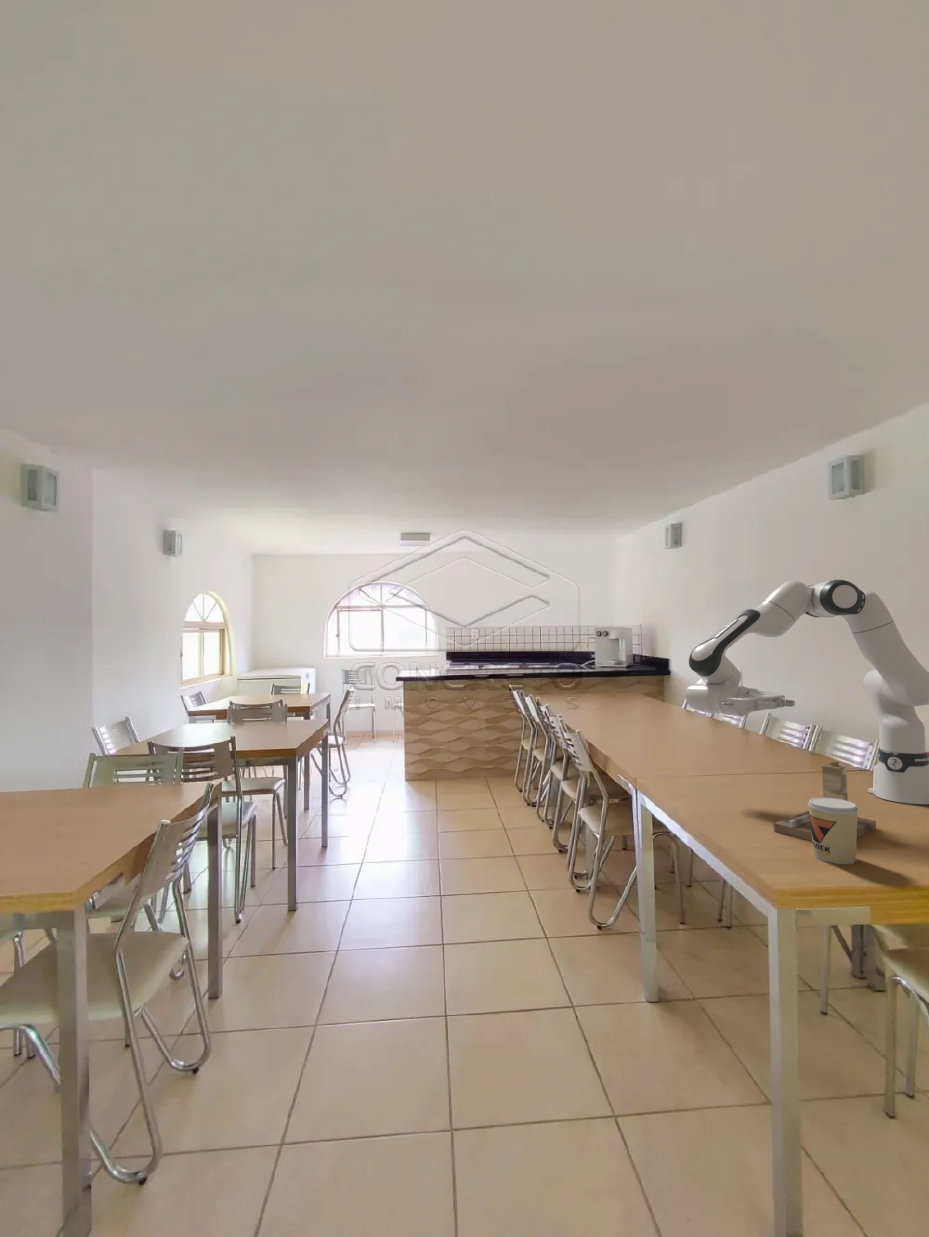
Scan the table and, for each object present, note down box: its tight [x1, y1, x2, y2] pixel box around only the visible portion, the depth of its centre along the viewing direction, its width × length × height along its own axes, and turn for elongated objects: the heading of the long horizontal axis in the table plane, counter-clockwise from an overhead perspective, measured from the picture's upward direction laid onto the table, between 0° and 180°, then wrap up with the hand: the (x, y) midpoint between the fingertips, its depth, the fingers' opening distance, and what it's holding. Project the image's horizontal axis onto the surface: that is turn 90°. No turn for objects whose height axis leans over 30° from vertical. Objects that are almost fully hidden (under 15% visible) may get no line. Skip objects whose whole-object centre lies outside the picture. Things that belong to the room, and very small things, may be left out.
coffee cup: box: [807, 797, 859, 865], centre depth 128 cm, size 9×9×12 cm
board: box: [773, 810, 877, 842], centre depth 146 cm, size 22×14×4 cm, turn 124°
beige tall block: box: [821, 760, 849, 801], centre depth 150 cm, size 4×5×14 cm
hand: (784, 704), depth 161 cm, fingers open, 8 cm apart
